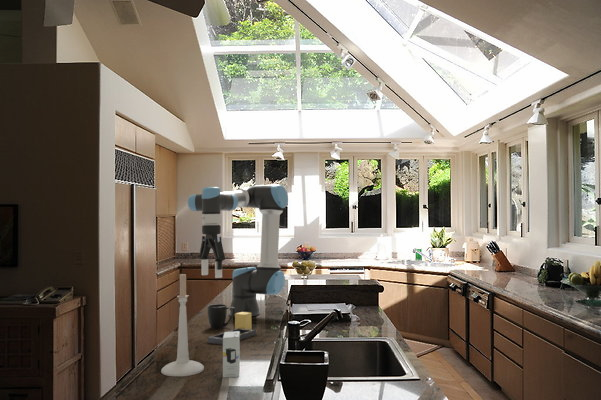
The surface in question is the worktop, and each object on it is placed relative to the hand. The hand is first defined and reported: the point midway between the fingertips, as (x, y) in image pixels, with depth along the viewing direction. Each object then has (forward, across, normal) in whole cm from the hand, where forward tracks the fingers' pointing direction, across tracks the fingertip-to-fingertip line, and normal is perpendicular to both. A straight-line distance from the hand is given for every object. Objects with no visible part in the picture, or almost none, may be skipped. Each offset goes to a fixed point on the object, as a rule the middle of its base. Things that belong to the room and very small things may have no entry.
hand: (211, 276), depth 209 cm
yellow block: (+24, -1, +15) cm, 28 cm away
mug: (+24, -10, +9) cm, 28 cm away
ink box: (+24, +54, -18) cm, 61 cm away
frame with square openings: (+24, +12, +4) cm, 27 cm away
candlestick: (+24, +42, -28) cm, 56 cm away
